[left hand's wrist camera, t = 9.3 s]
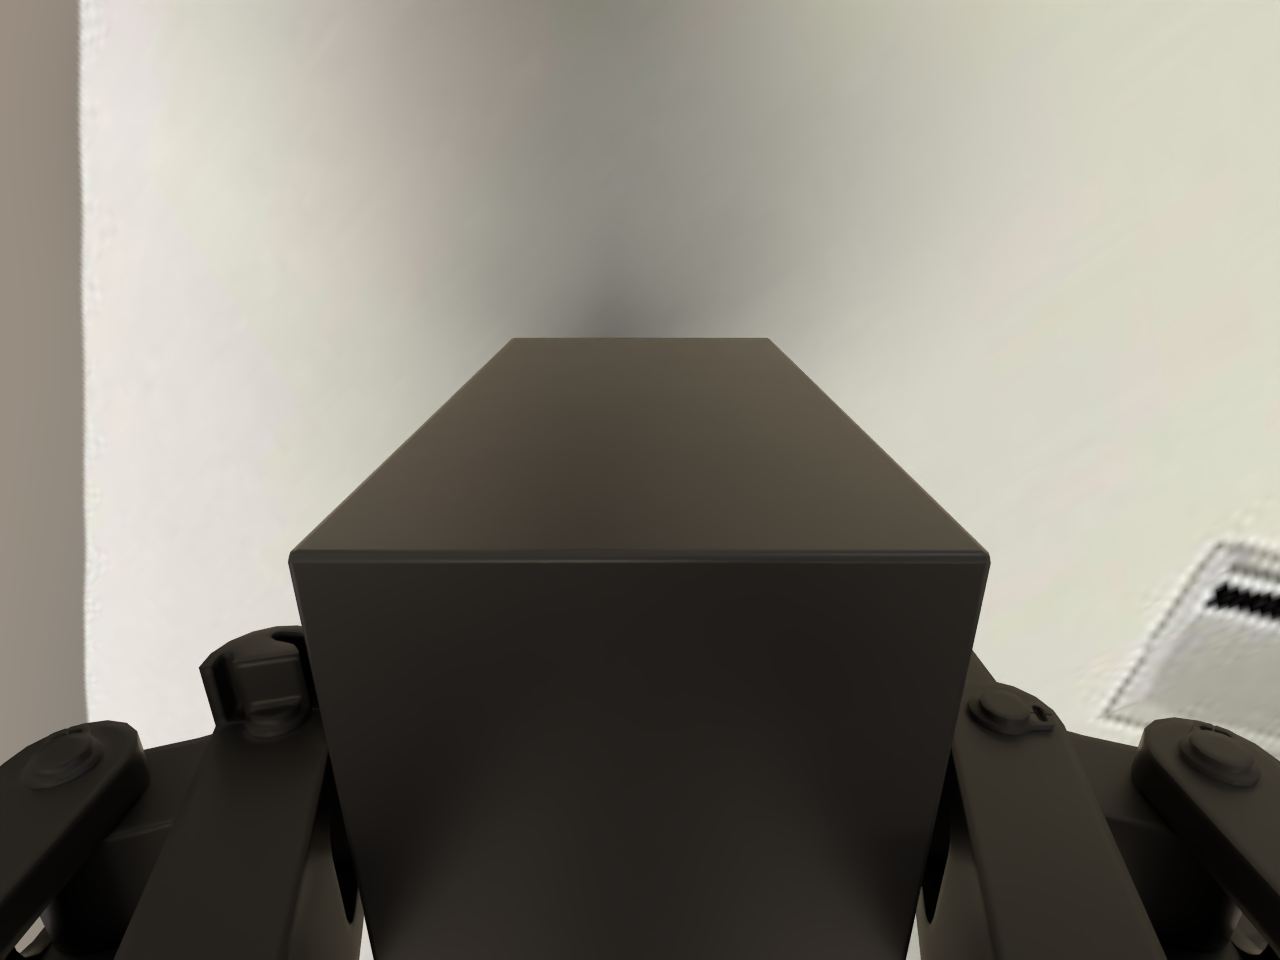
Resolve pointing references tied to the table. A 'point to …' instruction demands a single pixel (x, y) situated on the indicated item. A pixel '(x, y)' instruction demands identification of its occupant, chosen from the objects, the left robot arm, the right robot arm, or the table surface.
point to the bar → (639, 664)
